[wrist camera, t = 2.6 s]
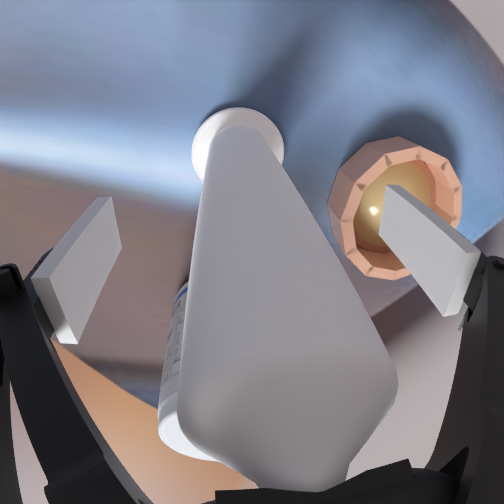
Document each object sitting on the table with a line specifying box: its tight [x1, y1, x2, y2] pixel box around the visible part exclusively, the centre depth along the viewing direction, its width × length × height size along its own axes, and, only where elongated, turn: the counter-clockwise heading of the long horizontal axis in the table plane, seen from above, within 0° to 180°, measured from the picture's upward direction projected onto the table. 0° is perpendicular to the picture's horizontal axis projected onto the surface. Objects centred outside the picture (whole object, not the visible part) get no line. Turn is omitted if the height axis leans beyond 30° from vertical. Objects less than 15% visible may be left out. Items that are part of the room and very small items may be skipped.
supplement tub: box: [158, 281, 217, 461], centre depth 26 cm, size 10×10×15 cm
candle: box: [177, 107, 398, 492], centre depth 14 cm, size 7×7×25 cm
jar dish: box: [327, 136, 462, 280], centre depth 26 cm, size 12×12×4 cm
